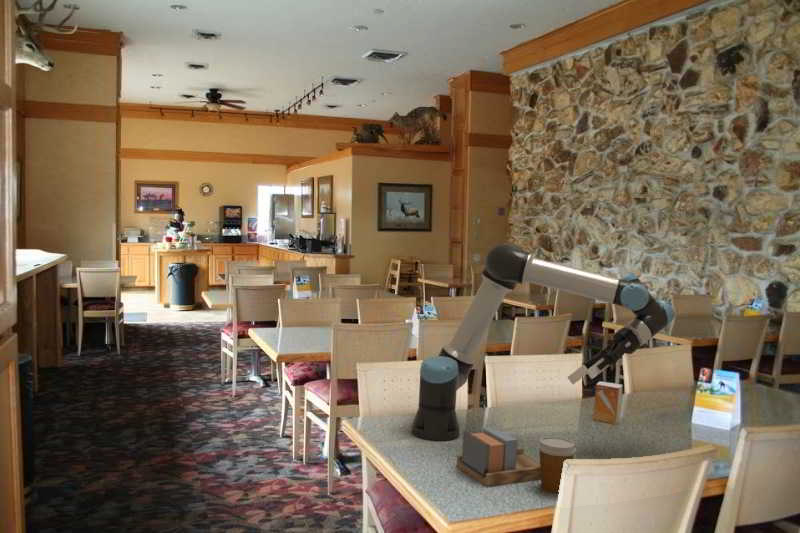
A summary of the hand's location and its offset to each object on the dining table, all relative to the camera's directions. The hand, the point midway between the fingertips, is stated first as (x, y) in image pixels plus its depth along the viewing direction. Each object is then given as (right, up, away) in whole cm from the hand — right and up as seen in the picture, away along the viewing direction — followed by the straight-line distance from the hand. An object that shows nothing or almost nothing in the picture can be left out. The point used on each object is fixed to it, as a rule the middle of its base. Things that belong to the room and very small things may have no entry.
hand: (579, 378), depth 193 cm
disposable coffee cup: (-13, -25, -23) cm, 36 cm away
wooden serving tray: (-23, -23, -13) cm, 35 cm away
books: (-28, -21, -15) cm, 38 cm away
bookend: (-33, -21, -17) cm, 43 cm away
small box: (+21, -22, +43) cm, 53 cm away
